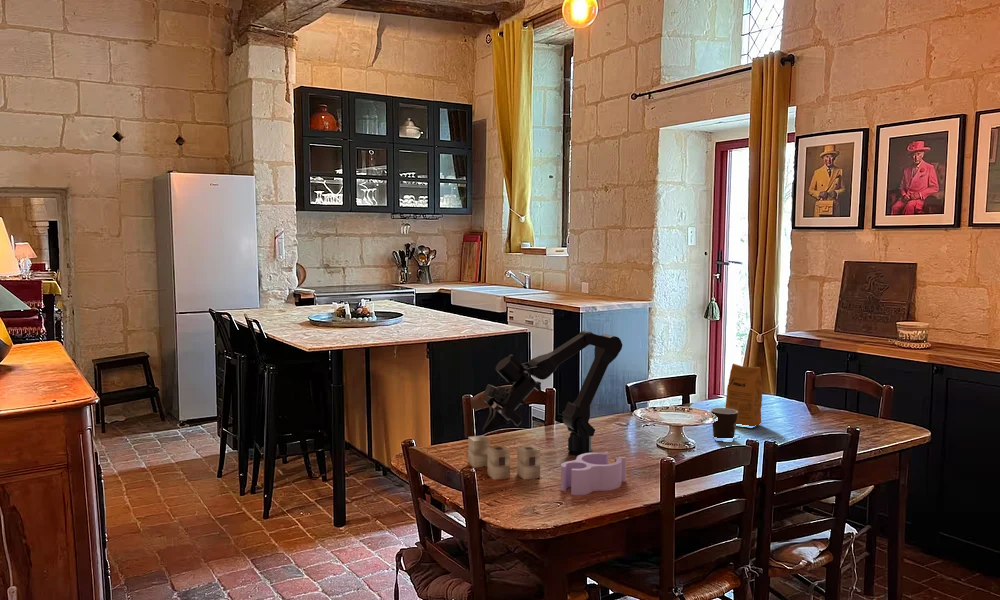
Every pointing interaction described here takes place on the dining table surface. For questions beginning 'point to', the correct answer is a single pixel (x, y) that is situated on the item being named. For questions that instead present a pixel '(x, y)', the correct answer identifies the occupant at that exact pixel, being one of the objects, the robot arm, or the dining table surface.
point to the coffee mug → (724, 422)
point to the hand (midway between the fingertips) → (483, 431)
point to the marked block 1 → (498, 462)
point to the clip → (592, 473)
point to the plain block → (478, 451)
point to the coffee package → (745, 394)
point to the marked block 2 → (528, 462)
